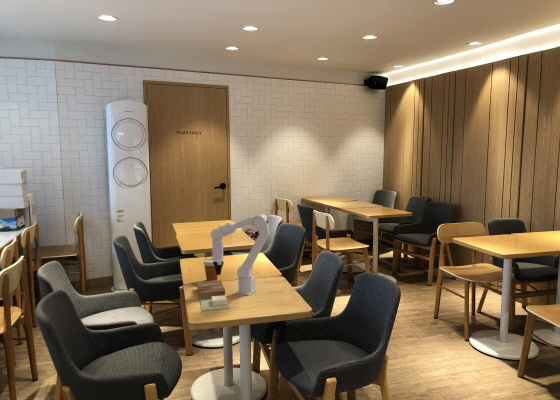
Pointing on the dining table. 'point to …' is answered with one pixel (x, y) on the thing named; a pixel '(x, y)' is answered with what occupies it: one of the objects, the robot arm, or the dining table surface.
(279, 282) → the dining table surface
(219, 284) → the deck
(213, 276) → the disposable coffee cup
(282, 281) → the dining table surface
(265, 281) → the dining table surface
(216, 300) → the tile
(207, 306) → the mat
